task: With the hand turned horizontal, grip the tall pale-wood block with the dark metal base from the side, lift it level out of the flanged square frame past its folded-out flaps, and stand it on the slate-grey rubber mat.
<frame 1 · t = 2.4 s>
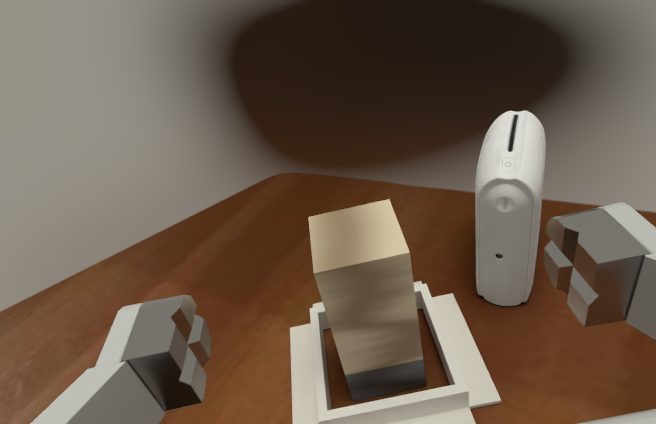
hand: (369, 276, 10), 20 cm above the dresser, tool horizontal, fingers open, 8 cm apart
flanged square frame: (382, 361, 31), on the dresser
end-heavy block: (370, 305, 28), in the flanged square frame
photo printer: (507, 263, 37), on the dresser
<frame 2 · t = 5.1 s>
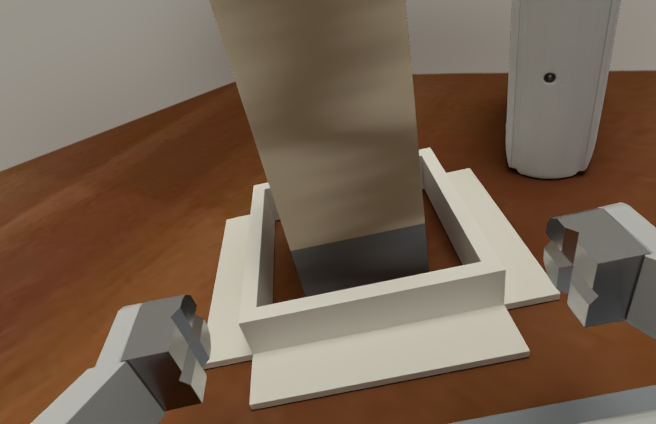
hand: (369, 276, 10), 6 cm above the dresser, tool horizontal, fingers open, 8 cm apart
flanged square frame: (359, 253, 20), on the dresser
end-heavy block: (335, 134, 16), in the flanged square frame
photo printer: (548, 136, 25), on the dresser
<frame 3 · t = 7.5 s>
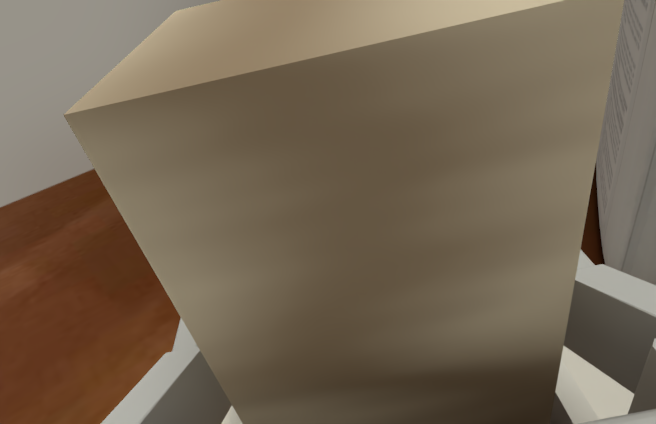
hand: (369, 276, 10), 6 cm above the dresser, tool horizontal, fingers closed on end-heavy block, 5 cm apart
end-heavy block: (377, 306, 9), in the flanged square frame, touching gripper
photo printer: (652, 225, 18), on the dresser
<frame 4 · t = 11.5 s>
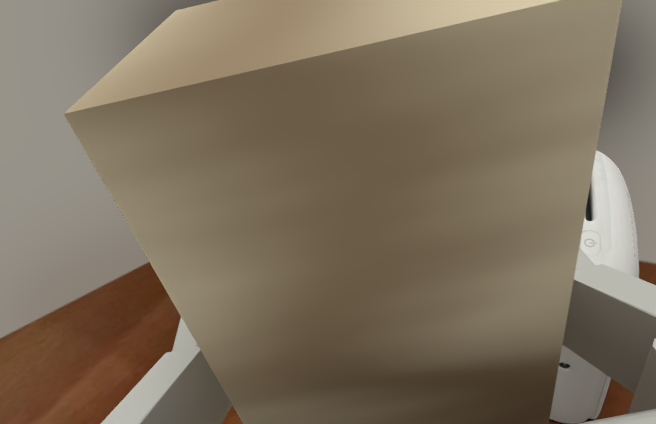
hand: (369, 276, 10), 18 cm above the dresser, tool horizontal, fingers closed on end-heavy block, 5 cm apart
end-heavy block: (376, 305, 9), point 18 cm above the dresser, touching gripper
photo printer: (559, 350, 27), on the dresser
when the fingers open (7 cm above the dresser, at t = 15.5 s): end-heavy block stays where it is, resting on slate mat.
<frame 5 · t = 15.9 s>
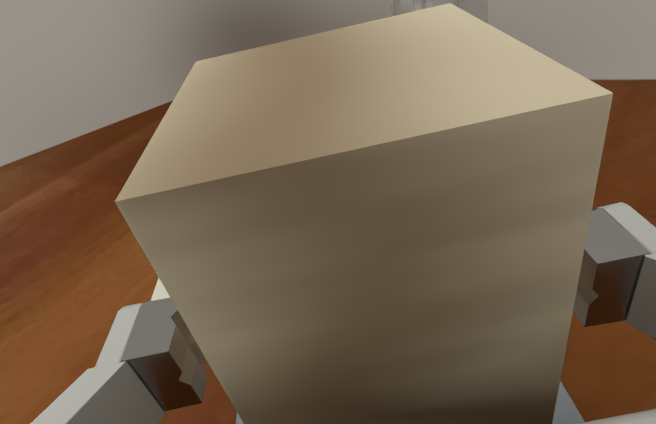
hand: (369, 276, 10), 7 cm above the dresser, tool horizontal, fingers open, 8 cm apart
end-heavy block: (384, 335, 10), on the slate mat
photo printer: (449, 135, 31), on the dresser
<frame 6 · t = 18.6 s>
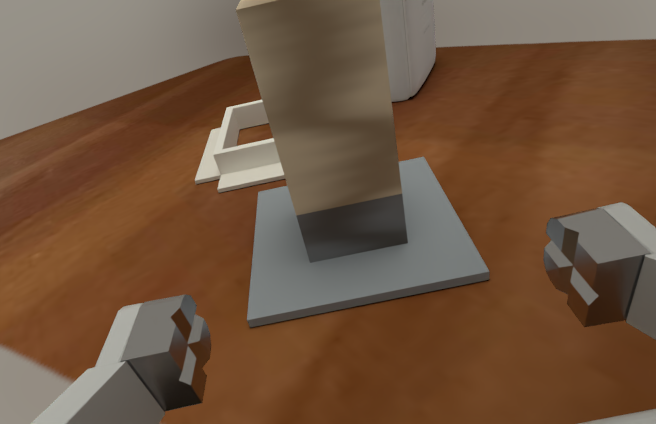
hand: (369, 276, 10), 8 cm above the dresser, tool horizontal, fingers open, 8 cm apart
flanged square frame: (282, 138, 36), on the dresser
slate mat: (352, 230, 24), on the dresser
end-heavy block: (332, 123, 21), on the slate mat
photo printer: (407, 82, 41), on the dresser
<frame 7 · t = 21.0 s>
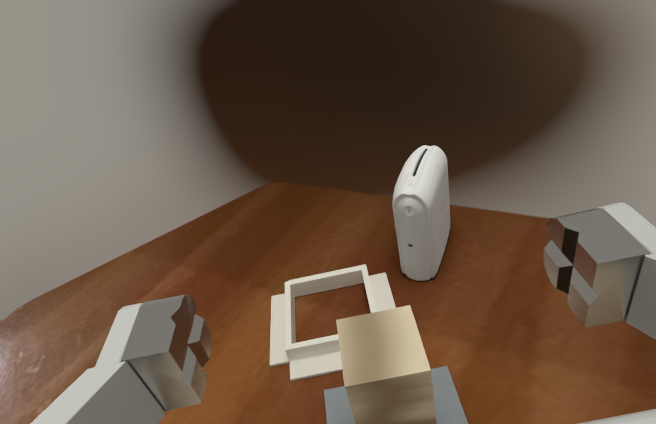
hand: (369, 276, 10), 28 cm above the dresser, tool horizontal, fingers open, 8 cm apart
flanged square frame: (332, 317, 46), on the dresser
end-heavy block: (390, 397, 30), on the slate mat
photo printer: (427, 252, 51), on the dresser
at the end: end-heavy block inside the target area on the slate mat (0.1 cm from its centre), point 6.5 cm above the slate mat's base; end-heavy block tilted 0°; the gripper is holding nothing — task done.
